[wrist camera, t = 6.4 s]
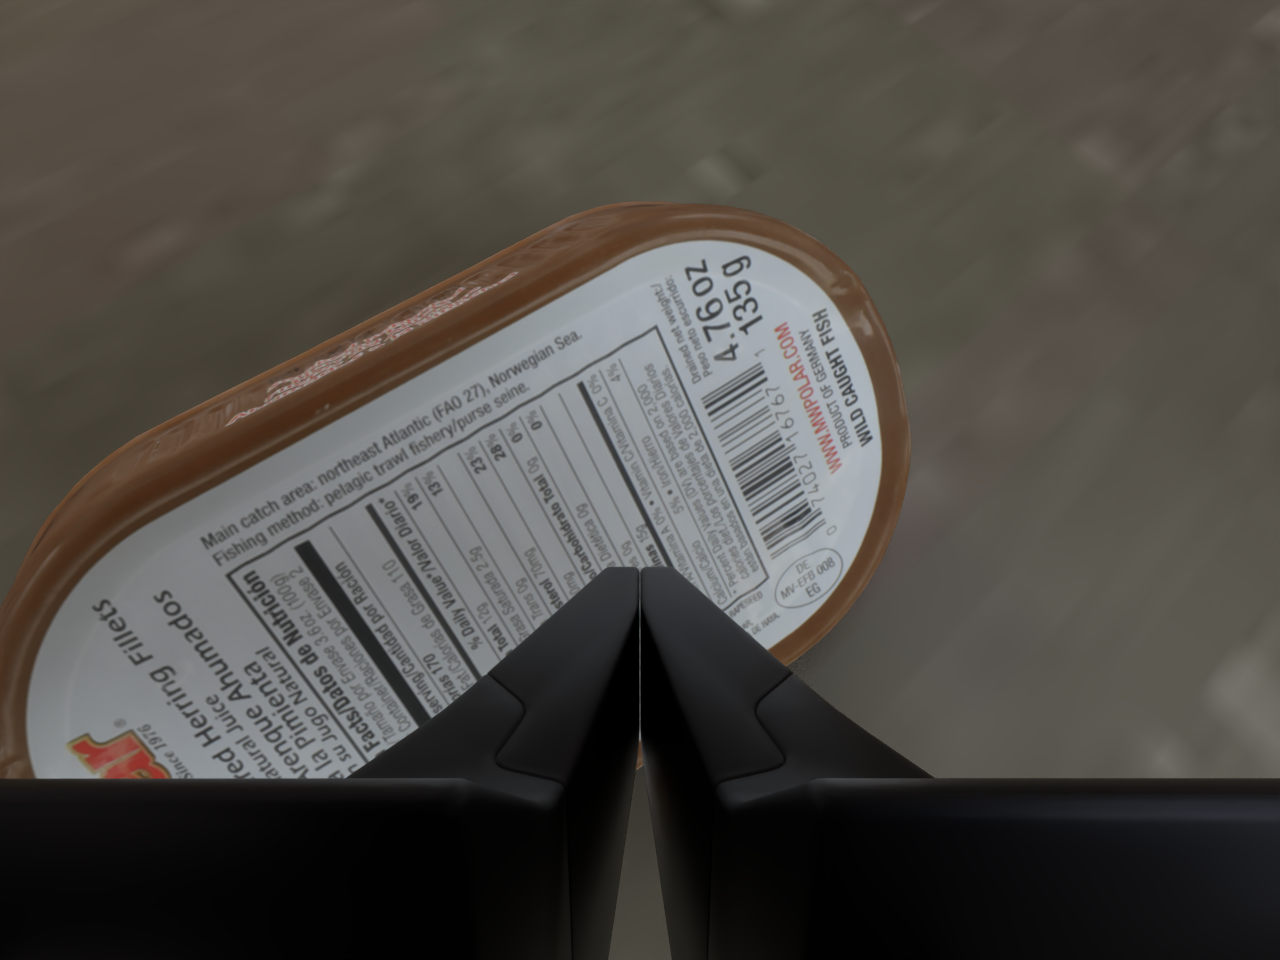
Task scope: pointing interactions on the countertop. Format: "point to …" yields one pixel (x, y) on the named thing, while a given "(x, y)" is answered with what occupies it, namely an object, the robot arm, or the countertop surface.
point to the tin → (462, 499)
